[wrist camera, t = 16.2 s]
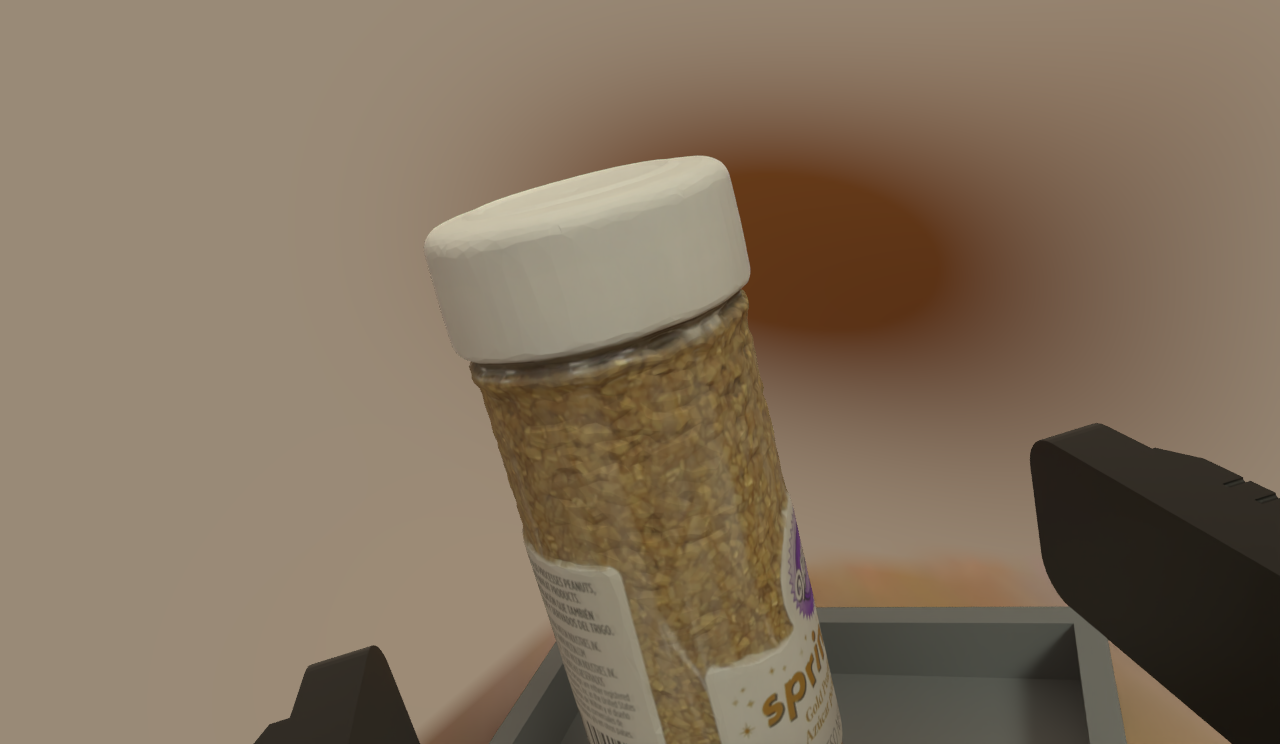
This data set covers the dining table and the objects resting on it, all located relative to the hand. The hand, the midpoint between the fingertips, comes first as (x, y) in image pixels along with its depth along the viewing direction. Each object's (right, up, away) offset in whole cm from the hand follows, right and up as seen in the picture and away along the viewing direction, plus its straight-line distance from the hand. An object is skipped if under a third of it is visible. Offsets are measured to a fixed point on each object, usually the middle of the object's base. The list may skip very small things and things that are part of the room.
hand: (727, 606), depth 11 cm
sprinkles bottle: (+1, -7, +6) cm, 10 cm away
